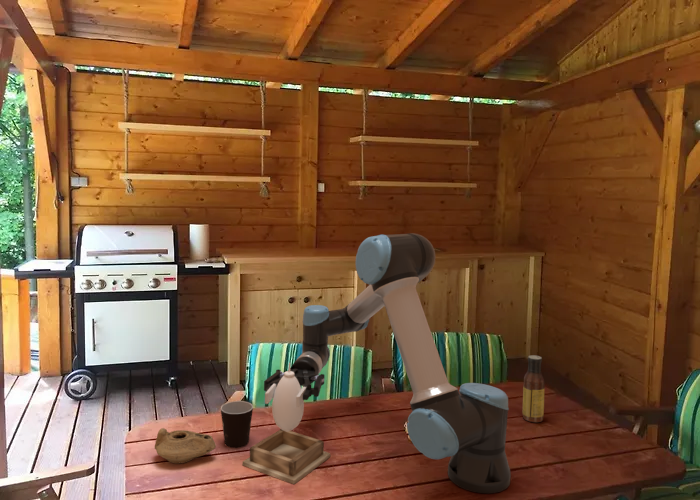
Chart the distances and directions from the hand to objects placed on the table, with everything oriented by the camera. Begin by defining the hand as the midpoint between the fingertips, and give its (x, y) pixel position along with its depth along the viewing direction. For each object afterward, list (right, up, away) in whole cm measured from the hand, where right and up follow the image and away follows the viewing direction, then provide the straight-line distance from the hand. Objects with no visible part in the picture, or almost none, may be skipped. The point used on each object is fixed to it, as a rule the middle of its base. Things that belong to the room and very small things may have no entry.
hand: (282, 400), depth 140 cm
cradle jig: (+1, -17, +7) cm, 19 cm away
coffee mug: (-14, -16, +18) cm, 28 cm away
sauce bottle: (+73, -16, +37) cm, 84 cm away
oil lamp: (-26, -17, +7) cm, 32 cm away
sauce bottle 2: (+1, -9, +6) cm, 11 cm away
